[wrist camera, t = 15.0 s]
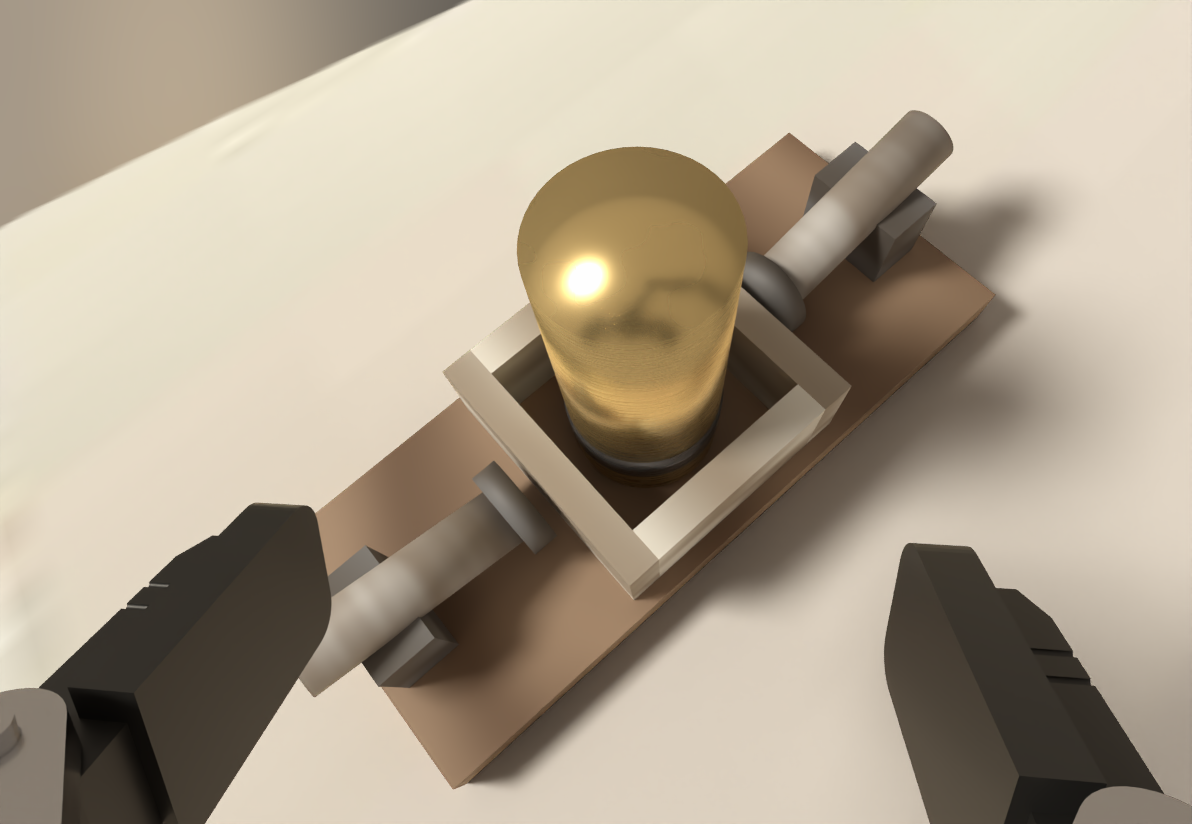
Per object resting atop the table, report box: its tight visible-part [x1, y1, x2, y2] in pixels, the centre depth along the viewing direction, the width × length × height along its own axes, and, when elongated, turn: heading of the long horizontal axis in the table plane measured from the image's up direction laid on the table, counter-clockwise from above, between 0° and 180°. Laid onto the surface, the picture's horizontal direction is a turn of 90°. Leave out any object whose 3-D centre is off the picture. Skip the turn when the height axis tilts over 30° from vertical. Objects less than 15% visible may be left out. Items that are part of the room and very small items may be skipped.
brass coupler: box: [517, 147, 748, 488], centre depth 19 cm, size 4×4×10 cm
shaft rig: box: [299, 110, 995, 789], centre depth 23 cm, size 24×9×6 cm, turn 131°
